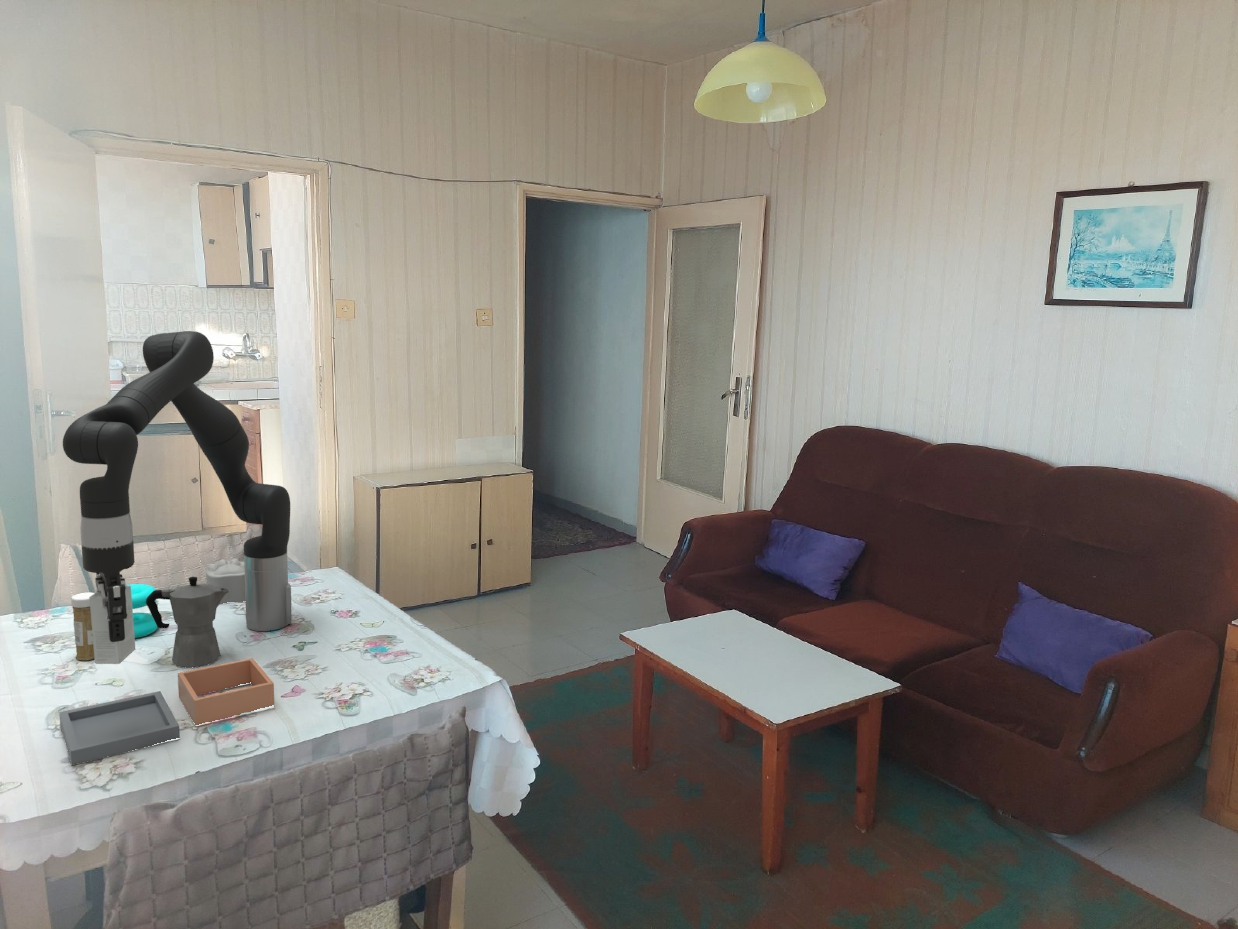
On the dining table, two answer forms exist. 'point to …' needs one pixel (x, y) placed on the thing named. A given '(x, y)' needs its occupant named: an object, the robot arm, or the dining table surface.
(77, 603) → the sprinkles bottle
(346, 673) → the dining table surface
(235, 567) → the lumpy-topped squat cylinder
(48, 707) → the dining table surface
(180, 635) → the coffeepot
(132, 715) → the grey tray
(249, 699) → the orange square frame
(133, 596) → the donuts
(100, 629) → the skincare box
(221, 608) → the dining table surface
